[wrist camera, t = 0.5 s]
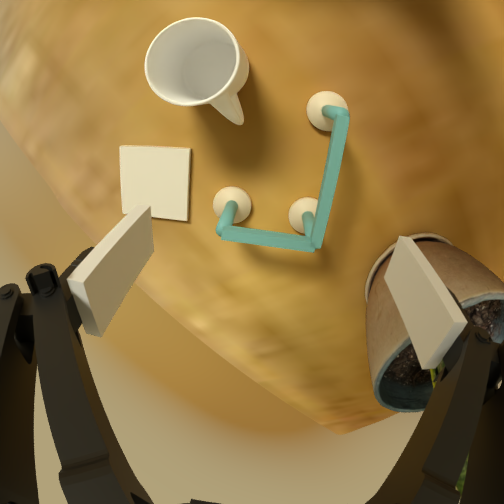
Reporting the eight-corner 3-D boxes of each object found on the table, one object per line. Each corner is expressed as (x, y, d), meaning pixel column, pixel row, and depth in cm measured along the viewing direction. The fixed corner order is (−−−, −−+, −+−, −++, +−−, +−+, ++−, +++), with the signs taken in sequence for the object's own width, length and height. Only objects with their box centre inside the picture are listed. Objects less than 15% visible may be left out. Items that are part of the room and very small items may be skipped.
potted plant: (366, 202, 37) (514, 537, 2) (478, 225, 36) (617, 423, 2) (332, 318, 48) (359, 564, 13) (433, 322, 47) (497, 509, 13)
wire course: (225, 77, 30) (209, 71, 22) (349, 96, 30) (373, 97, 22) (212, 218, 40) (197, 251, 32) (321, 233, 40) (331, 270, 32)
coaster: (122, 145, 35) (119, 146, 34) (191, 148, 35) (189, 149, 34) (125, 211, 40) (122, 213, 39) (188, 218, 40) (186, 221, 39)
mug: (216, 137, 34) (193, 154, 25) (167, 62, 29) (128, 54, 20) (277, 104, 31) (279, 107, 22) (227, 26, 26) (208, 0, 17)
